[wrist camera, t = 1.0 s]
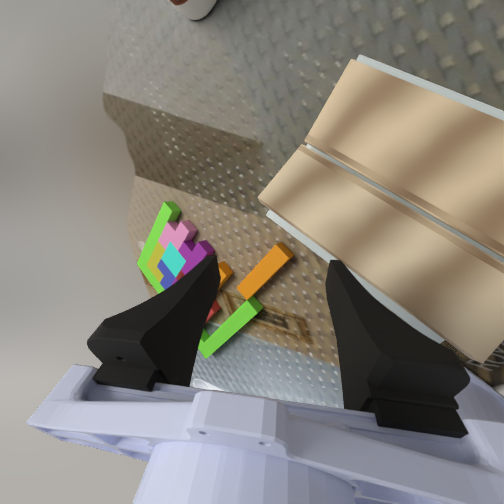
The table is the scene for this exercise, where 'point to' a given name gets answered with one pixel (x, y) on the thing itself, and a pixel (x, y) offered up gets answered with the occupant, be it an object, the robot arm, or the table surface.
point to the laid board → (418, 149)
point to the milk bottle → (193, 7)
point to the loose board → (395, 250)
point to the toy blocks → (188, 256)
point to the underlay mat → (327, 257)
